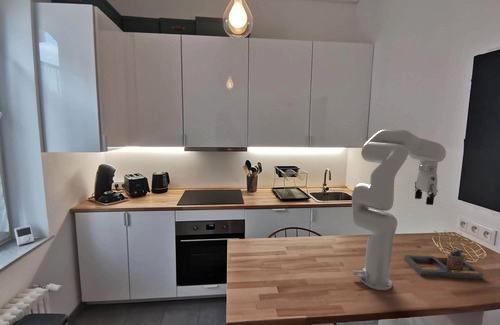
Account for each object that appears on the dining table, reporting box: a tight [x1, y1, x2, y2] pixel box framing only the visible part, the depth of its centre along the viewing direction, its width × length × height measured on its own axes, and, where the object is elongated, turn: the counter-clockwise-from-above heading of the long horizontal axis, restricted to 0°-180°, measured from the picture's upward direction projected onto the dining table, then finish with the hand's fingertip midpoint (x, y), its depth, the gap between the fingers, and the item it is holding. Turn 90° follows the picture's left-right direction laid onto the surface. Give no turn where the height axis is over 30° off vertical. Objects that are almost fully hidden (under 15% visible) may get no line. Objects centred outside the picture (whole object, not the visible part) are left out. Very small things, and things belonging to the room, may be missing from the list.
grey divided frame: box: [403, 254, 484, 280], centre depth 122 cm, size 26×14×3 cm, turn 86°
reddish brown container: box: [446, 248, 466, 271], centre depth 121 cm, size 8×3×10 cm, turn 100°
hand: (423, 201), depth 133 cm, fingers open, 9 cm apart
